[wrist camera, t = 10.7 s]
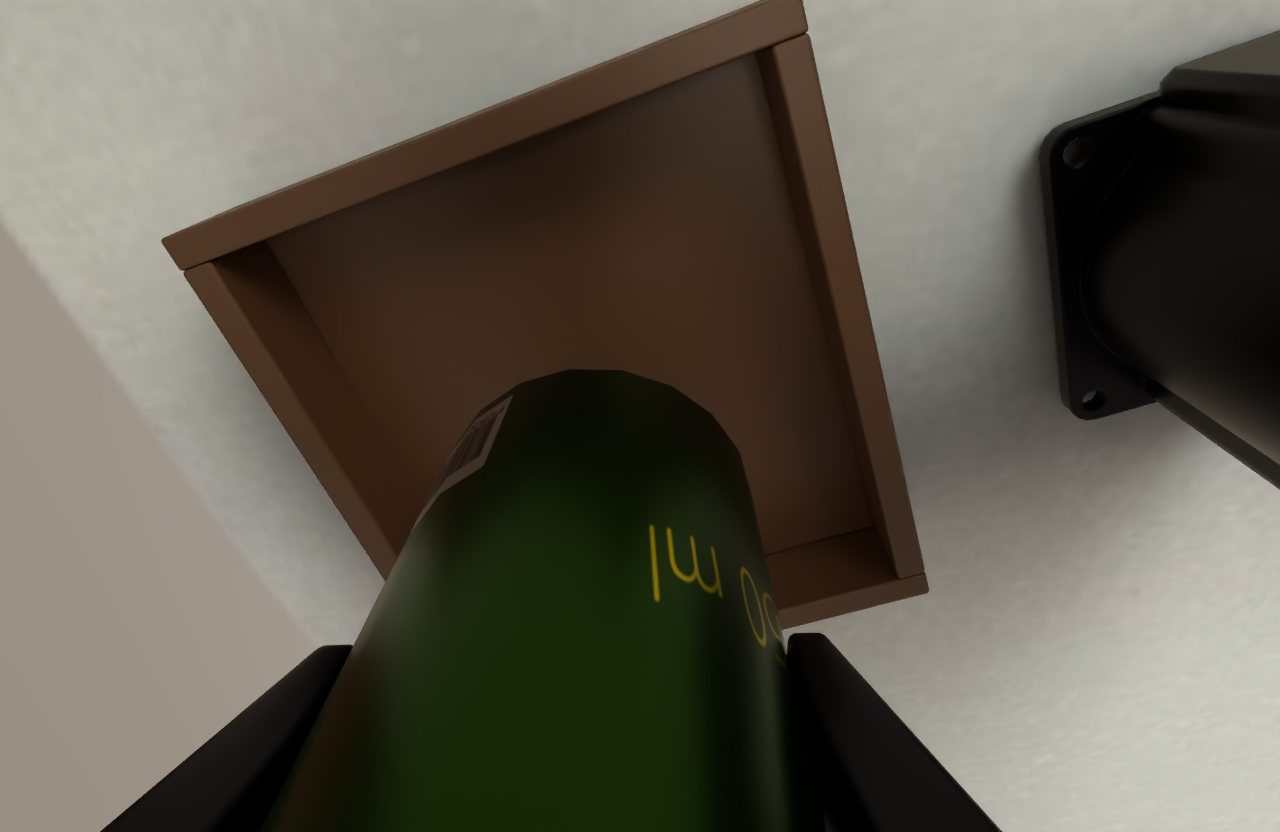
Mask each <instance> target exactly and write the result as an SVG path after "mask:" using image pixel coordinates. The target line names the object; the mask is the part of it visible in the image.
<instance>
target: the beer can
mask: <svg viewBox="0 0 1280 832" xmlns="http://www.w3.org/2000/svg"><path fill="white" fill-rule="evenodd" d="M259 832H826V827H825V823H824V818H823V814H822V809H821V805H820V800H819V796H818V791H817V787H816V782H815V778H814V774H813V770H812V766H811V762H810V757H809V753H808V749H807V744H806V740H805V735H804V731H803V726H802V722H801V717H800V713H799V708H798V704H797V700H796V695H795V691H794V686H793V682H792V677H791V673H790V668H789V664H788V659H787V651H786V647H785V642H784V638H783V633H782V629H781V624H780V620H779V615H778V611H777V606H776V602H775V597H774V593H773V588H772V584H771V579H770V575H769V570H768V566H767V561H766V557H765V552H764V548H763V543H762V539H761V534H760V530H759V525H758V521H757V516H756V512H755V507H754V503H753V498H752V494H751V490H750V486H749V483H748V479H747V476H746V472H745V469H744V465H743V462H742V459H741V455H740V452H739V450H738V448H737V447H736V446H735V444H734V443H733V442H732V440H731V439H730V438H729V436H728V435H727V434H726V432H725V431H724V429H723V428H722V427H721V425H720V424H719V423H718V421H717V420H716V419H715V417H714V416H713V415H712V414H711V413H710V412H709V411H707V410H706V409H704V408H703V407H701V406H700V405H698V404H697V403H696V402H694V401H693V400H691V399H690V398H688V397H687V396H686V395H684V394H683V393H681V392H680V391H678V390H677V389H675V388H674V387H673V386H671V385H668V384H665V383H661V382H658V381H655V380H652V379H649V378H646V377H642V376H639V375H636V374H633V373H630V372H627V371H624V370H613V369H567V370H564V371H560V372H557V373H553V374H550V375H546V376H543V377H539V378H536V379H532V380H529V381H525V382H522V383H519V384H518V385H516V386H515V387H513V388H512V389H510V390H509V391H507V392H506V393H505V394H503V395H502V396H500V397H499V398H497V399H496V400H494V401H493V402H491V403H490V404H488V405H487V406H485V407H484V408H482V409H481V410H480V411H479V413H478V414H477V415H476V417H475V418H474V419H473V421H472V422H471V424H470V425H469V426H468V428H467V429H466V431H465V432H464V433H463V435H462V436H461V438H460V439H459V440H458V442H457V443H456V444H455V446H454V448H453V450H452V452H451V454H450V456H449V458H448V460H447V462H446V464H445V466H444V468H443V470H442V472H441V474H440V476H439V478H438V480H437V481H436V483H435V485H434V487H433V489H432V491H431V493H430V495H429V497H428V499H427V501H426V503H425V505H424V507H423V509H422V511H421V513H420V515H419V517H418V519H417V521H416V523H415V525H414V527H413V529H412V531H411V533H410V535H409V537H408V539H407V541H406V543H405V545H404V547H403V549H402V551H401V553H400V555H399V557H398V559H397V561H396V563H395V565H394V566H393V568H392V570H391V572H390V574H389V576H388V578H387V580H386V582H385V584H384V586H383V588H382V590H381V592H380V594H379V596H378V598H377V600H376V602H375V604H374V606H373V608H372V610H371V612H370V614H369V616H368V618H367V620H366V622H365V624H364V626H363V628H362V630H361V632H360V634H359V636H358V638H357V640H356V642H355V644H354V646H353V648H352V650H351V651H350V653H349V655H348V657H347V659H346V661H345V663H344V665H343V667H342V669H341V671H340V673H339V675H338V677H337V679H336V681H335V683H334V685H333V687H332V689H331V691H330V693H329V695H328V697H327V699H326V701H325V703H324V705H323V707H322V709H321V711H320V713H319V715H318V717H317V719H316V721H315V723H314V725H313V727H312V729H311V731H310V733H309V735H308V736H307V738H306V740H305V742H304V744H303V746H302V748H301V750H300V752H299V754H298V756H297V758H296V760H295V762H294V764H293V766H292V768H291V770H290V772H289V774H288V776H287V778H286V780H285V782H284V784H283V786H282V788H281V790H280V792H279V794H278V796H277V798H276V800H275V802H274V804H273V806H272V808H271V810H270V812H269V814H268V816H267V818H266V820H265V821H264V823H263V825H262V827H261V829H260V831H259Z"/></svg>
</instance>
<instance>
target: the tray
mask: <svg viewBox="0 0 1280 832" xmlns="http://www.w3.org/2000/svg"><path fill="white" fill-rule="evenodd" d="M807 31H808V25H807V20H806V15H805V11H804V6H803V1H802V0H761V1H758V2H756V3H753V4H751V5H748V6H745V7H743V8H740V9H738V10H735V11H733V12H730V13H728V14H725V15H723V16H720V17H717V18H715V19H712V20H710V21H707V22H705V23H702V24H700V25H697V26H695V27H692V28H689V29H687V30H684V31H682V32H679V33H677V34H674V35H672V36H669V37H667V38H664V39H661V40H659V41H656V42H654V43H651V44H649V45H646V46H644V47H641V48H639V49H636V50H633V51H631V52H628V53H626V54H623V55H621V56H618V57H616V58H613V59H611V60H608V61H605V62H603V63H600V64H598V65H595V66H593V67H590V68H588V69H585V70H583V71H580V72H578V73H575V74H572V75H570V76H567V77H565V78H562V79H560V80H557V81H555V82H552V83H550V84H547V85H544V86H542V87H539V88H537V89H534V90H532V91H529V92H527V93H524V94H522V95H519V96H516V97H514V98H511V99H509V100H506V101H504V102H501V103H499V104H496V105H494V106H491V107H488V108H486V109H483V110H481V111H478V112H476V113H473V114H471V115H468V116H466V117H463V118H460V119H458V120H455V121H453V122H450V123H448V124H445V125H443V126H440V127H438V128H435V129H433V130H430V131H427V132H425V133H422V134H420V135H417V136H415V137H412V138H410V139H407V140H405V141H402V142H399V143H397V144H394V145H392V146H389V147H387V148H384V149H382V150H379V151H377V152H374V153H371V154H369V155H366V156H364V157H361V158H359V159H356V160H354V161H351V162H349V163H346V164H343V165H341V166H338V167H336V168H333V169H331V170H328V171H326V172H323V173H321V174H318V175H315V176H313V177H310V178H308V179H305V180H303V181H300V182H298V183H295V184H293V185H290V186H288V187H285V188H282V189H280V190H277V191H275V192H272V193H270V194H267V195H265V196H262V197H260V198H257V199H254V200H252V201H249V202H247V203H244V204H242V205H239V206H237V207H234V208H232V209H230V210H227V211H225V212H223V213H220V214H218V215H216V216H213V217H211V218H209V219H206V220H204V221H202V222H199V223H197V224H195V225H192V226H190V227H188V228H185V229H183V230H181V231H178V232H176V233H174V234H171V235H169V236H167V237H164V238H163V239H162V240H161V241H162V244H163V245H164V247H165V248H166V250H167V251H168V253H169V254H170V256H171V257H172V259H173V260H174V262H175V263H176V265H177V266H178V268H179V269H180V270H185V271H184V276H185V278H186V279H187V281H188V282H189V284H190V285H191V287H192V288H193V290H194V291H195V293H196V294H197V296H198V297H199V299H200V300H201V302H202V303H203V305H204V306H205V308H206V310H207V311H208V313H209V314H210V316H211V317H212V319H213V320H214V322H215V323H216V325H217V326H218V328H219V329H220V331H221V332H222V334H223V335H224V337H225V338H226V340H227V341H228V343H229V344H230V346H231V348H232V349H233V351H234V352H235V354H236V355H237V357H238V358H239V360H240V361H241V363H242V364H243V366H244V367H245V369H246V370H247V372H248V373H249V375H250V376H251V378H252V379H253V381H254V382H255V384H256V386H257V387H258V389H259V390H260V392H261V393H262V395H263V396H264V398H265V399H266V401H267V402H268V404H269V405H270V407H271V408H272V410H273V411H274V413H275V414H276V416H277V417H278V419H279V421H280V422H281V424H282V425H283V427H284V428H285V430H286V431H287V433H288V434H289V436H290V437H291V439H292V440H293V442H294V443H295V445H296V446H297V448H298V449H299V451H300V452H301V454H302V455H303V457H304V459H305V460H306V462H307V463H308V465H309V466H310V468H311V469H312V471H313V472H314V474H315V475H316V477H317V478H318V480H319V481H320V483H321V484H322V486H323V487H324V489H325V490H326V492H327V493H328V495H329V497H330V498H331V500H332V501H333V503H334V504H335V506H336V507H337V509H338V510H339V512H340V513H341V515H342V516H343V518H344V519H345V521H346V522H347V524H348V525H349V527H350V528H351V530H352V532H353V533H354V535H355V536H356V538H357V539H358V541H359V542H360V544H361V545H362V547H363V548H364V550H365V551H366V553H367V554H368V556H369V557H370V559H371V560H372V562H373V563H374V565H375V566H376V568H377V570H378V571H379V573H380V574H381V576H382V577H383V579H384V580H385V582H386V580H387V578H388V576H389V574H390V572H391V570H392V568H393V566H394V565H395V563H396V561H397V559H398V557H399V555H400V553H401V551H402V549H403V547H404V545H405V543H406V541H407V539H408V537H409V535H410V533H411V531H412V529H413V527H414V525H415V523H416V521H417V519H418V517H419V515H420V513H421V511H422V509H423V507H424V505H425V503H426V501H427V499H428V497H429V495H430V493H431V491H432V489H433V487H434V485H435V483H436V481H437V480H438V478H439V476H440V474H441V472H442V470H443V468H444V466H445V464H446V462H447V460H448V458H449V456H450V454H451V452H452V450H453V448H454V446H455V444H456V443H457V442H458V440H459V439H460V438H461V436H462V435H463V433H464V432H465V431H466V429H467V428H468V426H469V425H470V424H471V422H472V421H473V419H474V418H475V417H476V415H477V414H478V413H479V411H480V410H481V409H482V408H484V407H485V406H487V405H488V404H490V403H491V402H493V401H494V400H496V399H497V398H499V397H500V396H502V395H503V394H505V393H506V392H507V391H509V390H510V389H512V388H513V387H515V386H516V385H518V384H519V383H522V382H525V381H529V380H532V379H536V378H539V377H543V376H546V375H550V374H553V373H557V372H560V371H564V370H567V369H613V370H624V371H627V372H630V373H633V374H636V375H639V376H642V377H646V378H649V379H652V380H655V381H658V382H661V383H665V384H668V385H671V386H673V387H674V388H675V389H677V390H678V391H680V392H681V393H683V394H684V395H686V396H687V397H688V398H690V399H691V400H693V401H694V402H696V403H697V404H698V405H700V406H701V407H703V408H704V409H706V410H707V411H709V412H710V413H711V414H712V415H713V416H714V417H715V419H716V420H717V421H718V423H719V424H720V425H721V427H722V428H723V429H724V431H725V432H726V434H727V435H728V436H729V438H730V439H731V440H732V442H733V443H734V444H735V446H736V447H737V448H738V450H739V452H740V455H741V459H742V462H743V465H744V469H745V472H746V476H747V479H748V483H749V486H750V490H751V494H752V498H753V503H754V507H755V512H756V516H757V521H758V525H759V530H760V534H761V539H762V543H763V548H764V552H765V557H766V561H767V566H768V570H769V575H770V579H771V584H772V588H773V593H774V597H775V602H776V606H777V611H778V615H779V620H780V624H781V629H782V630H784V629H788V628H792V627H796V626H800V625H804V624H808V623H812V622H815V621H819V620H823V619H827V618H831V617H835V616H839V615H843V614H847V613H851V612H855V611H859V610H863V609H867V608H871V607H875V606H878V605H882V604H886V603H890V602H894V601H898V600H902V599H906V598H910V597H914V596H918V595H922V594H926V593H928V592H929V587H928V582H927V577H926V573H925V572H924V570H925V568H924V564H923V559H922V554H921V550H920V545H919V540H918V536H917V531H916V526H915V522H914V517H913V513H912V508H911V503H910V499H909V494H908V489H907V485H906V480H905V476H904V471H903V466H902V462H901V457H900V452H899V448H898V443H897V438H896V434H895V429H894V425H893V420H892V415H891V411H890V406H889V401H888V397H887V392H886V387H885V383H884V378H883V374H882V369H881V364H880V360H879V355H878V350H877V346H876V341H875V336H874V332H873V327H872V323H871V318H870V313H869V309H868V304H867V299H866V295H865V290H864V285H863V281H862V276H861V272H860V267H859V262H858V258H857V253H856V248H855V244H854V239H853V234H852V230H851V225H850V221H849V216H848V211H847V207H846V202H845V197H844V193H843V188H842V183H841V179H840V174H839V170H838V165H837V160H836V156H835V151H834V146H833V142H832V137H831V132H830V128H829V123H828V119H827V114H826V109H825V105H824V100H823V95H822V91H821V86H820V81H819V77H818V72H817V68H816V63H815V58H814V54H813V49H812V44H811V40H810V36H809V35H808V34H804V33H806V32H807Z"/></svg>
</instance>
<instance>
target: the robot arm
mask: <svg viewBox="0 0 1280 832" xmlns="http://www.w3.org/2000/svg"><path fill="white" fill-rule="evenodd" d="M1076 138H1078V140H1079V143H1080V147H1079V152H1078V153H1077V155H1076V156H1075V158H1074V159H1072V160H1071V161H1069V162H1067V163H1065V162H1064V159H1063V153H1064V149H1065V148H1066V146H1067V145H1068V143H1069V142H1071V141H1073V140H1074V139H1076ZM1039 161H1040V171H1041V182H1042V193H1043V204H1044V215H1045V225H1046V236H1047V247H1048V258H1049V269H1050V280H1051V290H1052V301H1053V312H1054V323H1055V334H1056V344H1057V355H1058V366H1059V377H1060V388H1061V398H1062V402H1063V404H1064V406H1065V407H1066V408H1067V409H1068V410H1069V411H1071V412H1072V413H1073V414H1074V415H1075V416H1076V417H1078V418H1079V419H1083V420H1094V419H1098V418H1102V417H1106V416H1109V415H1113V414H1116V413H1120V412H1123V411H1127V410H1130V409H1134V408H1138V407H1141V406H1145V405H1148V404H1152V403H1155V402H1158V403H1160V404H1161V405H1162V406H1164V407H1165V408H1167V409H1168V410H1169V411H1171V412H1172V413H1174V414H1175V415H1176V416H1178V417H1179V418H1180V419H1182V420H1183V421H1185V422H1186V423H1187V424H1189V425H1190V426H1192V427H1193V428H1194V429H1196V430H1197V431H1199V432H1200V433H1201V434H1203V435H1204V436H1206V437H1207V438H1208V439H1210V440H1211V441H1213V442H1214V443H1215V444H1217V445H1218V446H1220V447H1221V448H1222V449H1224V450H1225V451H1227V452H1228V453H1229V454H1231V455H1232V456H1234V457H1235V458H1236V459H1238V460H1239V461H1241V462H1242V463H1243V464H1245V465H1246V466H1248V467H1249V468H1250V469H1252V470H1253V471H1255V472H1256V473H1257V474H1259V475H1260V476H1262V477H1263V478H1264V479H1266V480H1267V481H1269V482H1270V483H1271V484H1273V485H1274V486H1276V487H1277V488H1278V489H1280V30H1279V31H1276V32H1274V33H1271V34H1268V35H1265V36H1262V37H1259V38H1256V39H1253V40H1250V41H1248V42H1245V43H1242V44H1239V45H1236V46H1233V47H1230V48H1227V49H1225V50H1222V51H1219V52H1216V53H1213V54H1210V55H1207V56H1204V57H1202V58H1199V59H1196V60H1193V61H1190V62H1187V63H1184V64H1181V65H1178V66H1176V67H1174V68H1173V69H1172V70H1171V71H1170V72H1169V73H1168V74H1167V75H1166V77H1165V78H1164V79H1163V80H1162V81H1161V82H1160V90H1158V91H1156V92H1153V93H1150V94H1147V95H1144V96H1141V97H1138V98H1135V99H1132V100H1129V101H1126V102H1124V103H1121V104H1118V105H1115V106H1112V107H1109V108H1106V109H1103V110H1100V111H1097V112H1094V113H1091V114H1089V115H1086V116H1083V117H1080V118H1077V119H1074V120H1071V121H1068V122H1065V123H1063V124H1061V125H1059V126H1058V127H1056V128H1054V129H1053V130H1052V131H1051V132H1050V133H1049V134H1048V135H1047V136H1046V137H1045V139H1044V141H1043V143H1042V145H1041V148H1040V156H1039ZM1093 390H1096V393H1095V395H1094V396H1093V398H1092V399H1091V400H1089V401H1087V402H1083V398H1084V397H1085V396H1086V395H1087V393H1089V392H1091V391H1093ZM352 648H353V646H352V645H326V646H322V647H320V648H318V649H317V650H315V651H314V652H313V653H312V654H311V655H309V656H308V657H307V658H306V659H304V660H303V661H302V662H301V663H300V664H299V665H297V666H296V667H295V668H294V669H293V670H292V671H290V672H289V673H288V674H287V675H286V676H284V677H283V678H282V679H281V680H280V681H278V682H277V683H276V684H275V685H274V686H272V687H271V688H270V689H269V690H268V691H266V692H265V693H264V694H263V695H262V696H261V697H259V698H258V699H257V700H256V701H255V702H253V703H252V704H251V705H250V706H249V707H248V708H246V709H245V710H244V711H243V712H242V713H240V714H239V715H238V716H237V717H236V718H235V719H233V720H232V721H231V722H230V723H229V724H227V725H226V726H225V727H224V728H223V729H221V730H220V731H219V732H218V733H217V734H216V735H214V736H213V737H212V738H211V739H210V740H208V741H207V742H206V743H205V744H204V745H202V746H201V747H200V748H199V749H198V750H196V751H195V752H194V753H193V754H192V755H190V756H189V757H188V758H187V759H186V760H185V761H183V762H182V763H181V764H180V765H179V766H177V767H176V768H175V769H174V770H173V771H171V772H170V773H169V774H168V775H167V776H166V777H164V778H163V779H162V780H161V781H160V782H158V783H157V784H156V785H155V786H154V787H152V789H150V790H149V791H148V792H147V793H146V794H144V795H143V796H142V797H141V798H139V799H138V800H137V801H136V802H135V803H134V804H132V805H131V806H130V807H129V808H128V809H126V810H125V811H124V812H123V813H122V814H121V815H119V816H118V817H117V818H116V819H115V820H113V821H112V822H111V823H110V824H109V825H107V826H106V827H105V828H104V829H103V830H102V831H100V832H259V831H260V829H261V827H262V825H263V823H264V821H265V820H266V818H267V816H268V814H269V812H270V810H271V808H272V806H273V804H274V802H275V800H276V798H277V796H278V794H279V792H280V790H281V788H282V786H283V784H284V782H285V780H286V778H287V776H288V774H289V772H290V770H291V768H292V766H293V764H294V762H295V760H296V758H297V756H298V754H299V752H300V750H301V748H302V746H303V744H304V742H305V740H306V738H307V736H308V735H309V733H310V731H311V729H312V727H313V725H314V723H315V721H316V719H317V717H318V715H319V713H320V711H321V709H322V707H323V705H324V703H325V701H326V699H327V697H328V695H329V693H330V691H331V689H332V687H333V685H334V683H335V681H336V679H337V677H338V675H339V673H340V671H341V669H342V667H343V665H344V663H345V661H346V659H347V657H348V655H349V653H350V651H351V650H352ZM787 659H788V664H789V668H790V673H791V677H792V682H793V686H794V691H795V695H796V700H797V704H798V708H799V713H800V717H801V722H802V726H803V731H804V735H805V740H806V744H807V749H808V753H809V757H810V762H811V766H812V770H813V774H814V778H815V782H816V787H817V791H818V796H819V800H820V805H821V809H822V814H823V818H824V823H825V827H826V832H1002V831H1001V830H1000V829H999V828H998V827H997V825H996V824H995V823H994V822H993V821H992V820H991V819H990V818H989V817H988V815H987V814H986V813H985V812H984V811H983V810H982V809H981V808H980V807H979V805H978V804H977V803H976V802H975V801H974V800H973V799H972V798H971V797H970V796H969V794H968V793H967V792H966V791H965V790H964V789H963V788H962V787H961V786H960V784H959V783H958V782H957V781H956V780H955V779H954V778H953V777H952V776H951V774H950V773H949V772H948V771H947V770H946V769H945V768H944V767H943V766H942V764H941V763H940V762H939V761H938V760H937V759H936V758H935V757H934V756H933V754H932V753H931V752H930V751H929V750H928V749H927V748H926V747H925V746H924V745H923V743H922V742H921V741H920V740H919V739H918V738H917V737H916V736H915V735H914V733H913V732H912V731H911V730H910V729H909V728H908V727H907V726H906V725H905V723H904V722H903V721H902V720H901V719H900V718H899V717H898V716H897V715H896V713H895V712H894V711H893V710H892V709H891V708H890V707H889V706H888V705H887V703H886V702H885V701H884V700H883V699H882V698H881V697H880V696H879V695H878V694H877V692H876V691H875V690H874V689H873V688H872V687H871V686H870V685H869V684H868V682H867V681H866V680H865V679H864V678H863V677H862V676H861V675H860V674H859V672H858V671H857V670H856V669H855V668H854V667H853V666H852V665H851V664H850V662H849V661H848V660H847V659H846V658H845V657H844V656H843V655H842V654H841V652H840V651H839V650H838V649H837V648H836V647H835V646H834V645H833V644H832V643H831V641H830V640H829V639H828V638H827V637H826V636H825V635H823V634H821V633H794V634H792V635H791V636H790V637H789V639H788V646H787Z"/></svg>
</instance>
